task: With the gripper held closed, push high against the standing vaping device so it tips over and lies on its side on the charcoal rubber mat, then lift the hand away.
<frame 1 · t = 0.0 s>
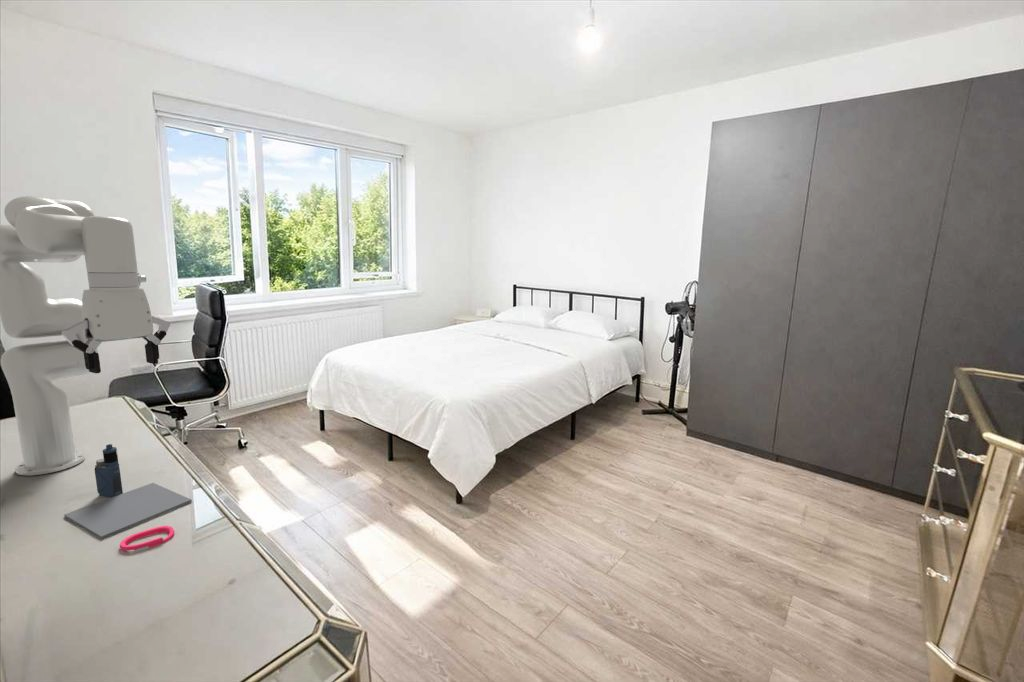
hand: (125, 367, 93), 31 cm above the table, tool pointing down, fingers open, 9 cm apart
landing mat: (130, 509, 98), on the table
fitness band: (148, 543, 88), on the table
vaping device: (110, 495, 104), on the table
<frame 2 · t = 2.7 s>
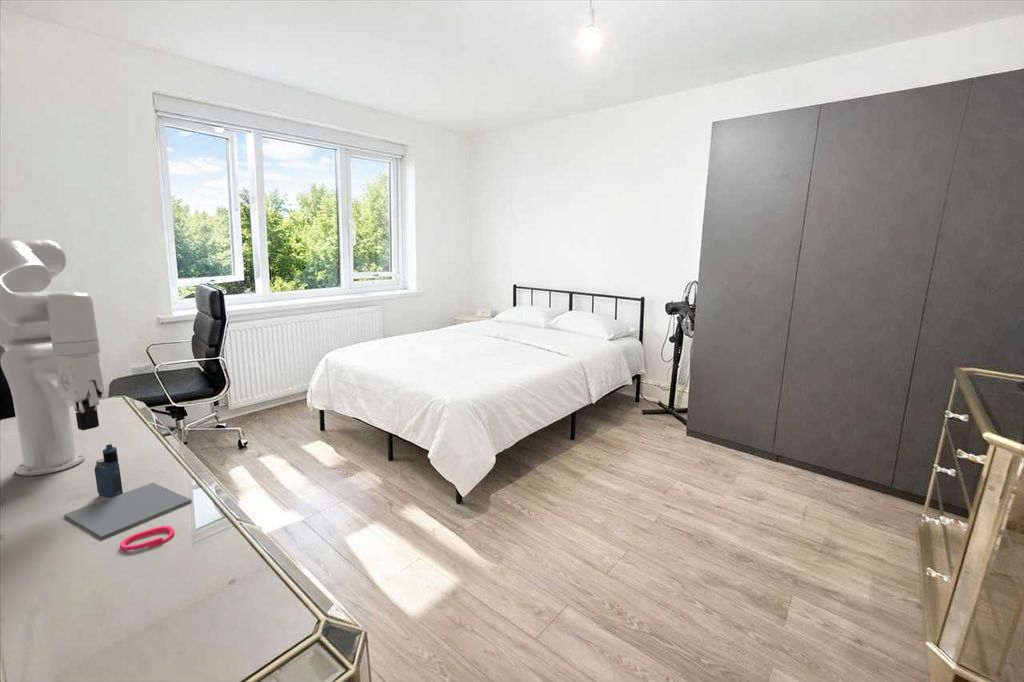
hand: (88, 427, 105), 15 cm above the table, tool pointing down, fingers closed
nothing on the table moved.
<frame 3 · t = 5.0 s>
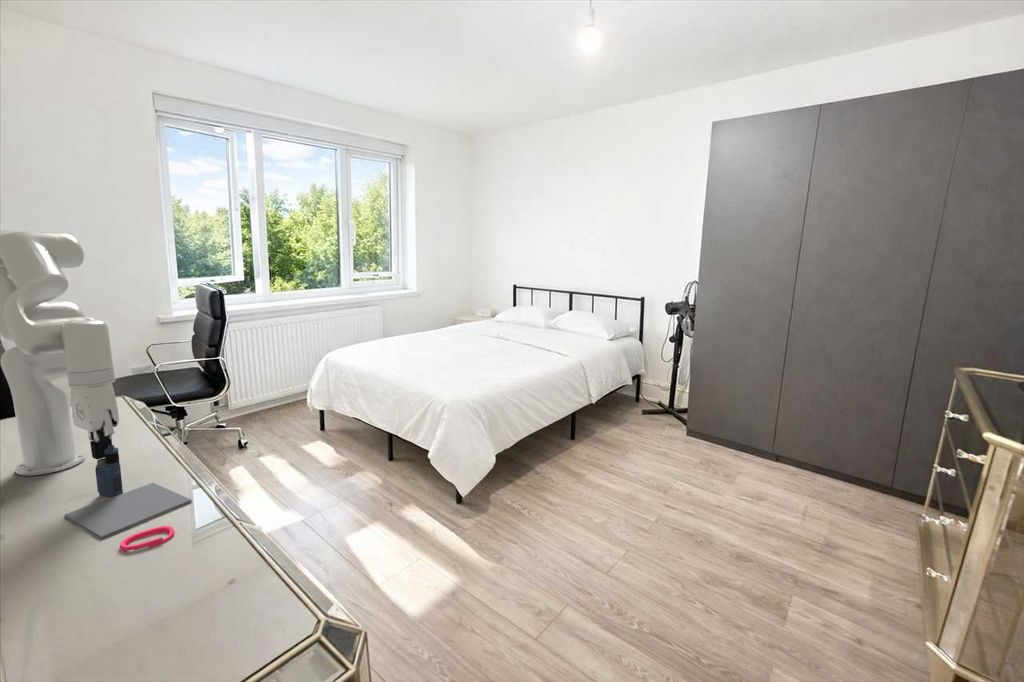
hand: (103, 456, 103), 9 cm above the table, tool pointing down, fingers closed
vaping device: (110, 495, 104), on the table, touching gripper
everything else where it was.
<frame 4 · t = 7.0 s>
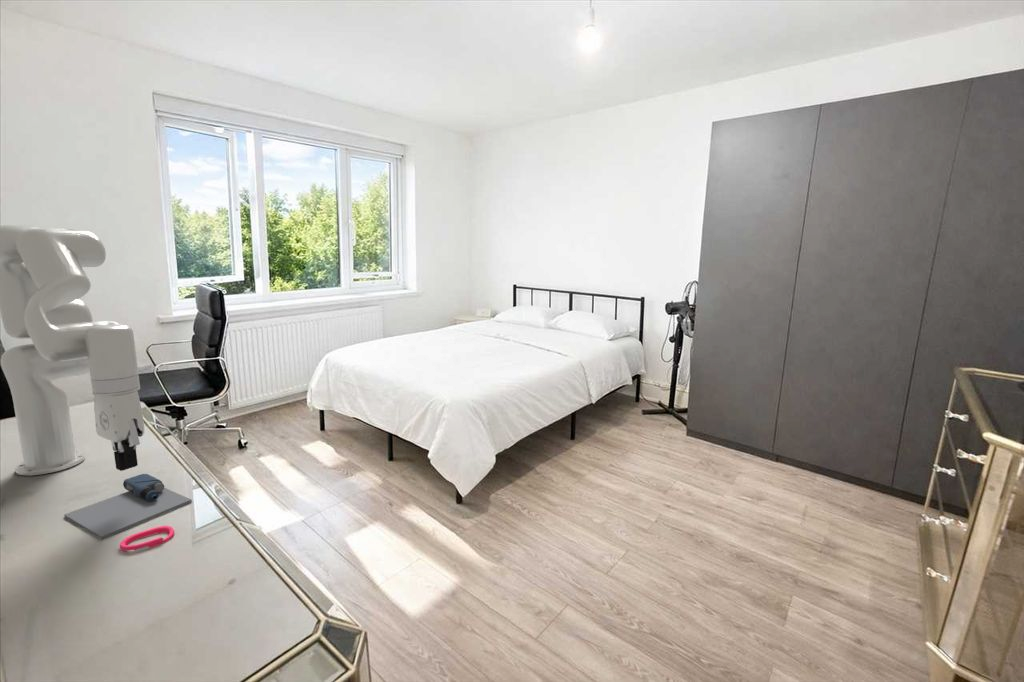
hand: (127, 467, 99), 9 cm above the table, tool pointing down, fingers closed
vaping device: (134, 480, 107), point 2 cm above the table, touching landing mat
everything else where it was.
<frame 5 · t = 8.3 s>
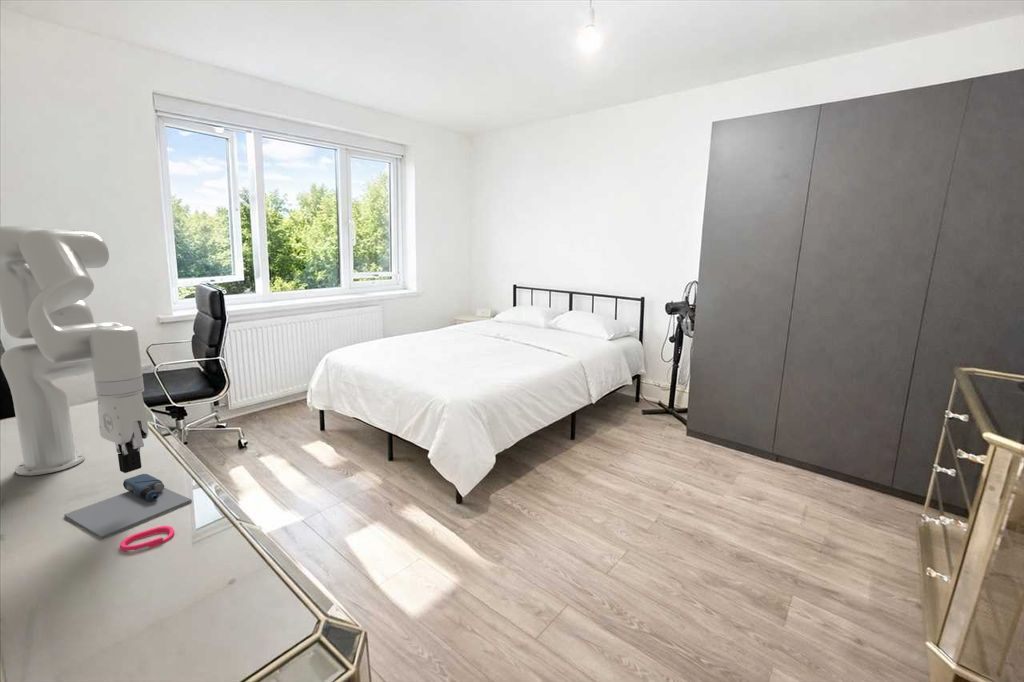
hand: (131, 469, 98), 9 cm above the table, tool pointing down, fingers closed
nothing on the table moved.
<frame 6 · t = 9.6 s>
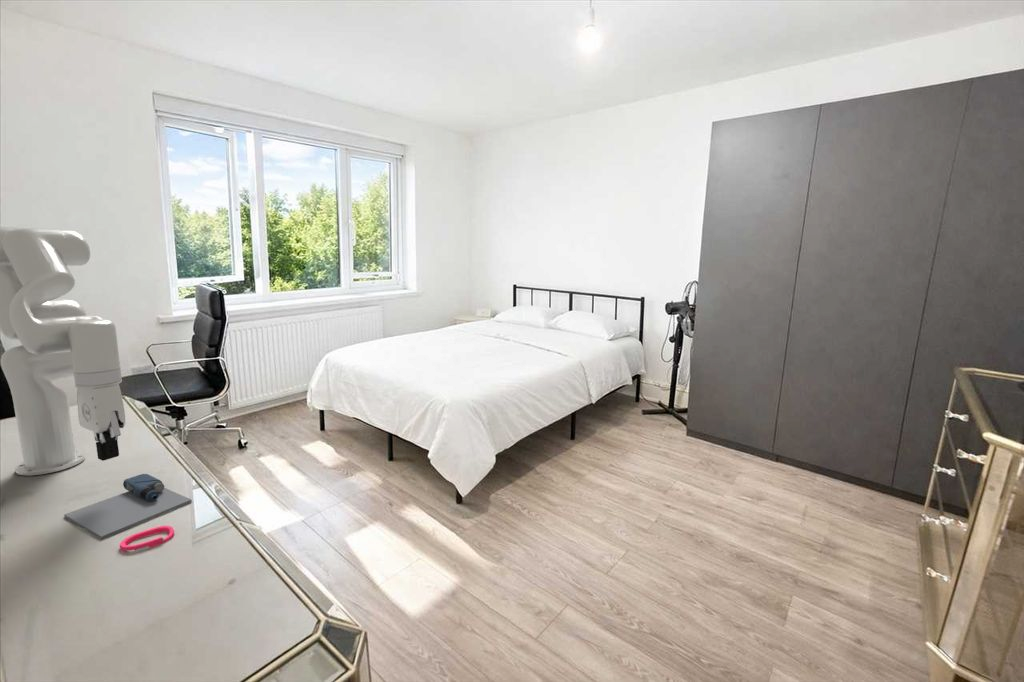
hand: (108, 457, 102), 9 cm above the table, tool pointing down, fingers closed
nothing on the table moved.
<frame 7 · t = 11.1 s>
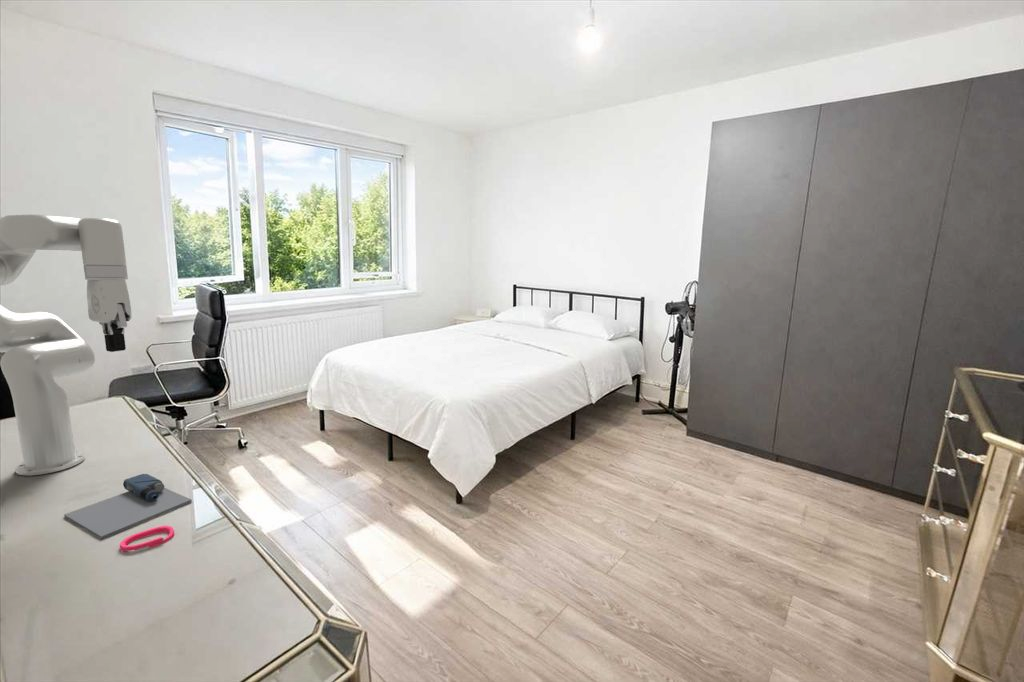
hand: (116, 350, 110), 31 cm above the table, tool pointing down, fingers closed
nothing on the table moved.
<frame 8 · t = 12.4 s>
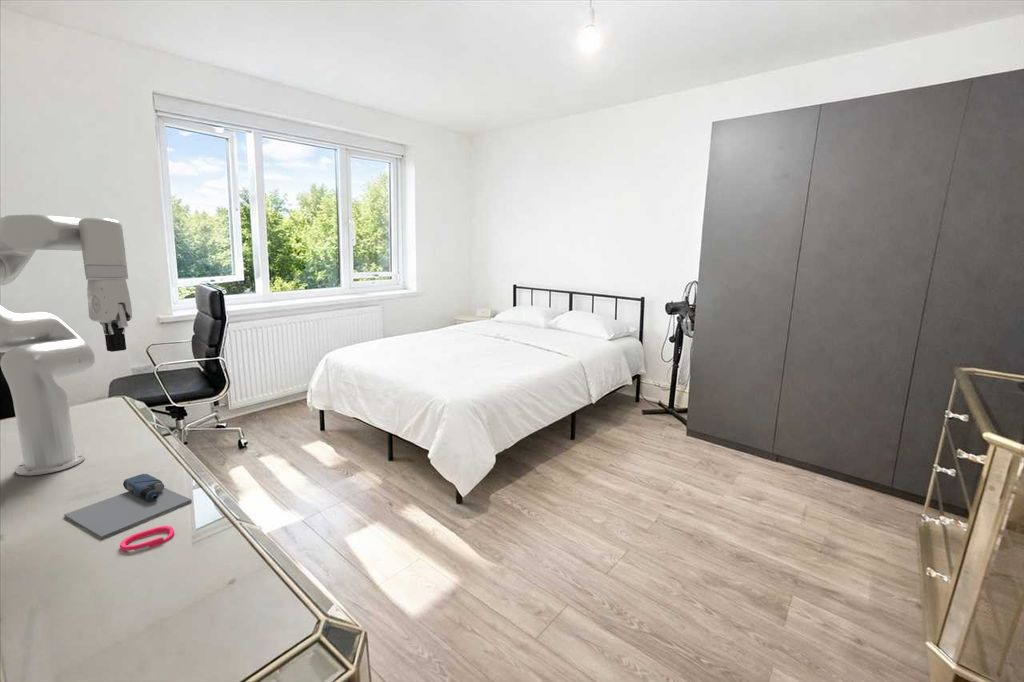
hand: (116, 350, 110), 31 cm above the table, tool pointing down, fingers closed
nothing on the table moved.
at the end: vaping device tilted 91°; vaping device touching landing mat; vaping device inside the target area (5.5 cm from its centre), point 2.0 cm above the table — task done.
